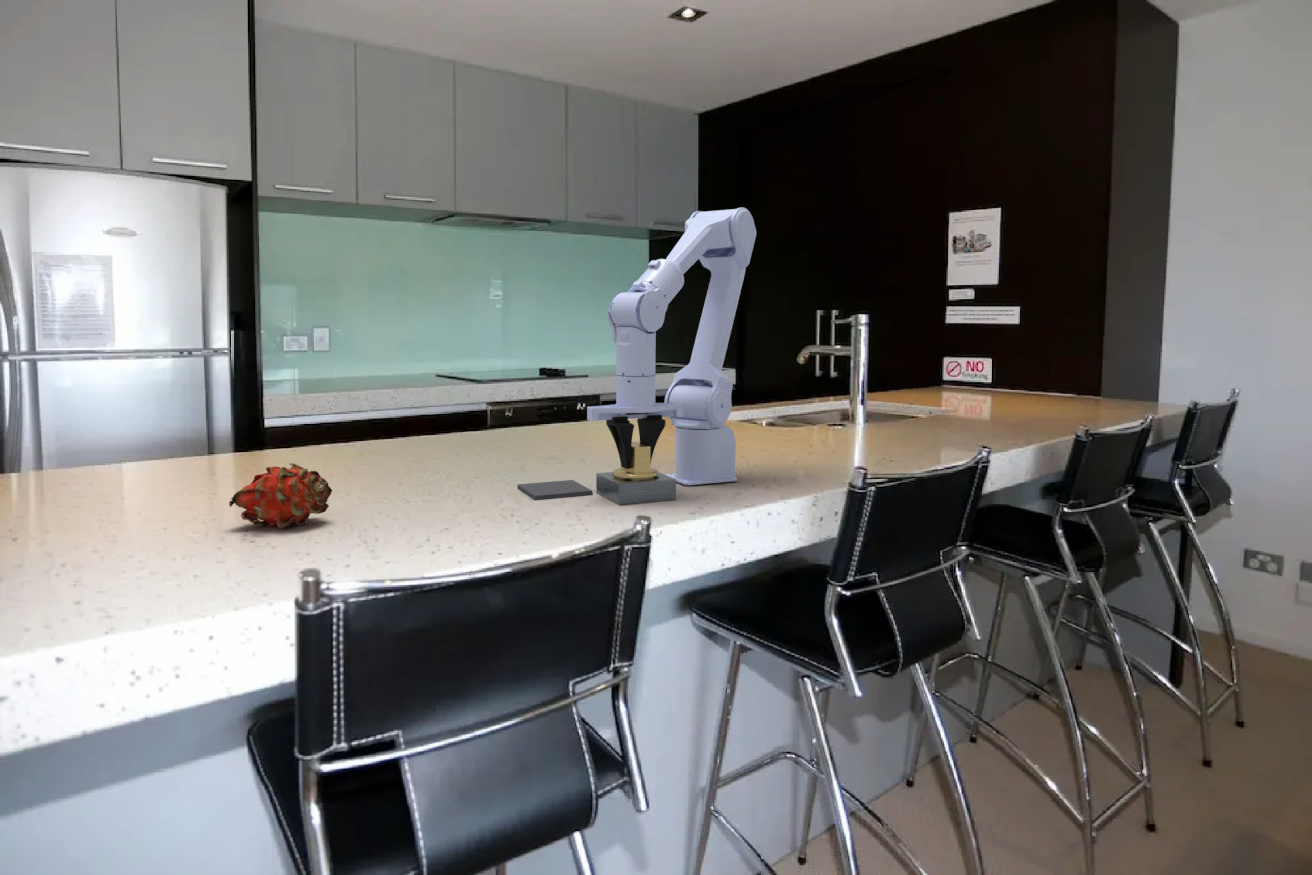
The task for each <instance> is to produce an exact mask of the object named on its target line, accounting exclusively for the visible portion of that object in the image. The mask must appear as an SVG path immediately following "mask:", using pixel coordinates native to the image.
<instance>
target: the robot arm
mask: <svg viewBox="0 0 1312 875" xmlns="http://www.w3.org/2000/svg"><path fill="white" fill-rule="evenodd" d="M756 237H757V228H756V225H755V221H754V217H753V215H752V214H751V212H750V211H749V210H748V208H746V207H738V208H733V209H731V208H730V209H723V210H722V209H719V210H708V211H703V210H697V211H694V212H693V213H692V214H691V215H690V217H689V218H688V219H686V221H685V223H684V233H683V234H682V236H681V237H680V239H679V240H678V241H677V243H676V244H675V245H674V247H673V248H672V250H671V251H670V253H668V255H667V257H665V258H666V259H665V258H658V259H656V260H655V259H653V260H651V261H650V262H649V263H648V264H647V269H646V270H645V271H644V272H643V273H642V275H640V277H639V278H638V279H637V280H636V281H634V282H633V283H632V285H631V287H630V288H629V290H628V291H626V292H624V291H623V292H620V293H618V294H617V295H615V297H613V299H612V301H611V302H610V304H609V310H607V311H606V315H607V316H606V317H607V320H608V324H609V326H610V327H611V329H612V339H613V342H614V344H616V346H615V348H616V349H615V351H616V352H615V354H616V357H615V360H616V361H615V362H616V364H615V366H616V367H615V368H616V369H615V370H616V371H615V372H616V373H615V374H616V375H615V376H616V380H615V381H616V383H615V384H616V386H615V390H616V391H615V392H616V393H615V394H616V397H615V400H616V402H615V404H607V405H606V404H605V405H596V406H595V405H594V406H587V407H586V415H587V416H586V419H587V421H590V422H599V421H604V420H605V422H606V427H607V428H608V430H609V433H610V434H611V436H612V438H613V440H614V443H615V446H616V448H617V453H618V455H619V460H620V461H619V462H620V466H621V467H623V468H625V469H631V444H632V442H633V441H632V440H633V436H634V435H633V434H634V429H635V424H633V423H632V422H631V420H629V419H636V422H637V427H638V434H639V436H638V437H639V443H642V444H645V445H648V446H650V465H651V463H652V459H653V455H654V451H655V447H656V445H657V443H658V440H659V438H660V436H661V434H662V432H663V431H664V429H665V427H666V419H665V418H668V419H669V420H670V421H671V426H675V430H674V431H675V432H674V433H675V434H674V437H675V439H674V473H666V474H665V475H666V476H669V477H671V478H674V479H676V483H678V484H682V485H685V486H696V485H698V486H699V485H706V484H707V485H709V484H719V483H729V482H737V481H738V478H737V477H736V450H737V448H736V447H737V446H736V445H737V444H736V436H735V434H734V431H733V429H732V428H731V427H730V426H729V425H725V423H726V422H727V420H728V419H729V417H730V415H731V413H732V406H733V404H732V392H733V387H734V385H733V383H732V381H731V379H730V378H729V377H728V376H727V375H726V374H725V373H724V372H723V365H724V362H725V359H726V353H727V350H728V345H729V341H730V338H731V334H732V329H733V325H734V320H735V317H736V311H737V308H738V305H739V299H740V295H741V293H742V292H741V290H742V287H743V283H744V278H745V274H746V270H747V269H746V268H747V267H748V266H749V265H750V262H751V258H752V255H753V254H752V253H753V250H754V245H755V242H756ZM698 260H699V262H700V263H701V265H702V267H703V268H705V269H707V270H709V271H710V274H711V276H710V279H709V280H710V281H709V283H708V288H707V292H706V296H705V300H704V305H703V308H702V313H701V317H700V320H699V324H698V329H697V331H696V336H695V341H694V344H693V348H692V352H691V356H690V359H689V360H690V361H689V363H687V365H686V366H684V367H682V368H681V369H680V370H679V371H677V372H676V373H675V374H674V375H673V379H672V380H673V381H672V383H671V385H670V386H669V388H668V389H667V392H666V394H665V396H664V402H656V348H657V347H656V346H657V345H656V342H657V341H656V339H657V337H656V336H657V334H656V332H657V331H658V330H660V328H662V326H663V324H664V322H665V319H666V318H665V317H666V316H665V315H666V312H667V310H668V307H669V304H670V303H671V302H672V300H673V299H674V298H675V297H676V295H677V294H679V292H680V290H682V288H683V286H684V284H685V277H684V274H685V273H687V271H688V270H689V269H690V268H691V267H692V266H694V264H695V263H696V262H697V261H698ZM621 467H620V468H621Z"/></svg>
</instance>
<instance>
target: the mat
mask: <svg viewBox="0 0 1312 875" xmlns="http://www.w3.org/2000/svg"><path fill="white" fill-rule="evenodd" d="M517 490H520V492H523V493H524V494H525V495H527V496H528V497H530V499H533V500H534V501H538V500H546V499H547V500H548V499H558V498H560V499H561V498H569V497H582V496H590V495H591V496H592V495H593V494H594V493H593V492H594V491H593V490H592V489H590V488H589V487H587V486H584V485H583V484H581V483H579V482H577V481H576V480H574V479H565V480H556V481H543V482H533V483H532V482H531V483H530V482H529V483H518V484H517Z"/></svg>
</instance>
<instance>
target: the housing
mask: <svg viewBox="0 0 1312 875" xmlns="http://www.w3.org/2000/svg"><path fill="white" fill-rule="evenodd" d="M595 476H596V480H595V481H596V482H595V483H596V484H595V485H596V486H595V487H596V488H595V489H596V490H595V491H596V494H598V495H600V496H602V497H603V498H604V499H605V498H606V500H607V499H608V500H609V501H611V502H612V503H615V504H616V505H619V506H622V505H623V506H625V505H634V504H646V503H654V502H665V501H675V500H677V482H676V479H674V478H671V477H669V476H666V474H664V473H662V472H659V471H658V477H657V478H655V479H651V480H643V481H624V480H620V479H616V478H614V477H613V471H609V472H608V471H607V472H598V473H596V475H595Z"/></svg>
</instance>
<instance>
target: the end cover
mask: <svg viewBox="0 0 1312 875" xmlns="http://www.w3.org/2000/svg"><path fill="white" fill-rule="evenodd" d="M612 472H613V477H614V478H616V479H620V480H624V481H643V480H651V479H655V478H657V477H658V472H659V470H658V469H655V468H651V464H650V446H648V445H645V444H642V443H640V441H639V442H638V441H632V444H631V469H625V468H623V467H619V468H618V467H617V468H616V469H614V470H613V471H612Z"/></svg>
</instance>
